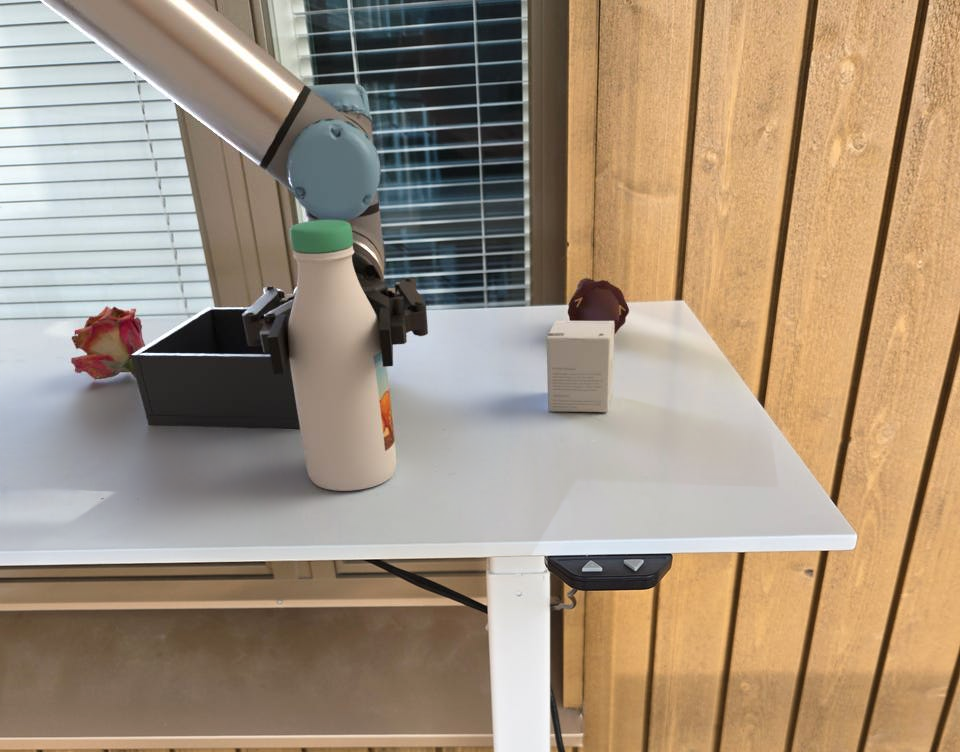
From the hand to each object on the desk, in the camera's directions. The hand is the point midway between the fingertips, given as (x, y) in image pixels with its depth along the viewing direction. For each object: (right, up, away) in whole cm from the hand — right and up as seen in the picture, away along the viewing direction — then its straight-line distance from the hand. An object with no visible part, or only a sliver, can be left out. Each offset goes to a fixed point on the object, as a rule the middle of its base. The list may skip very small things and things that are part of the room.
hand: (331, 352), depth 66 cm
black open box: (-12, +5, +29) cm, 32 cm away
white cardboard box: (+21, +2, +23) cm, 31 cm away
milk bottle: (0, -7, +11) cm, 13 cm away
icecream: (+25, +15, +41) cm, 50 cm away
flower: (-31, +9, +36) cm, 49 cm away
